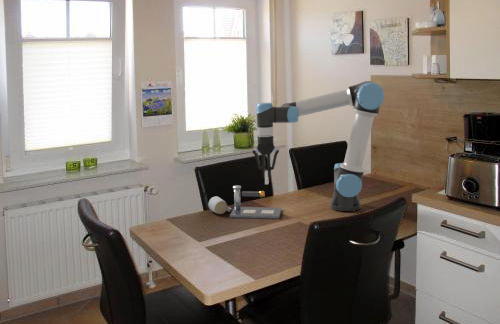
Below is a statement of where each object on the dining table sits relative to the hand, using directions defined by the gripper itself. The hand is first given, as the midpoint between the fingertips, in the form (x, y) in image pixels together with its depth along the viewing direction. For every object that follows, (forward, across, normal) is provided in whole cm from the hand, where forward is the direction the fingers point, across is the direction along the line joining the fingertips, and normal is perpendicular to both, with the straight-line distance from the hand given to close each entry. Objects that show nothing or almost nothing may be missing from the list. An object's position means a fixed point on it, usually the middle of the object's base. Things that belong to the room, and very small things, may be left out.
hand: (266, 183), depth 251 cm
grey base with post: (+16, +6, -2) cm, 17 cm away
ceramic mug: (+16, +24, -3) cm, 29 cm away
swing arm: (+8, +8, -6) cm, 13 cm away
